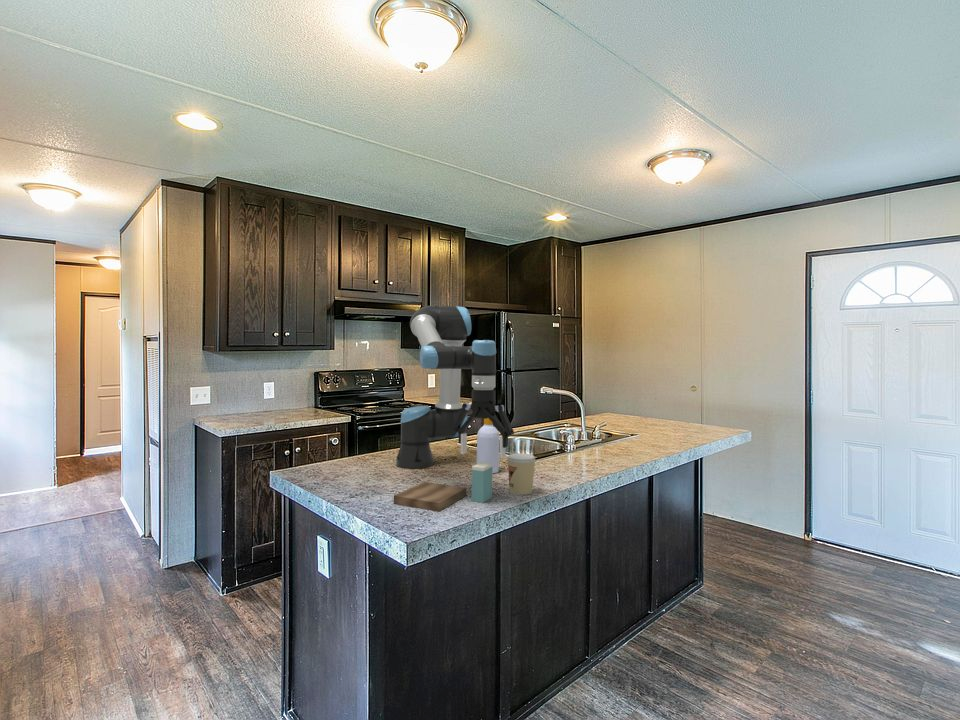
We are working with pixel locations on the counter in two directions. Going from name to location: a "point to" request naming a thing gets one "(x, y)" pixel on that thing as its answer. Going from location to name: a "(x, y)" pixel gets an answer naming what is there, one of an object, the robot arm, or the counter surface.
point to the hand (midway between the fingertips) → (482, 455)
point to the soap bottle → (488, 445)
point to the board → (430, 496)
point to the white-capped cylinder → (521, 473)
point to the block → (481, 482)
